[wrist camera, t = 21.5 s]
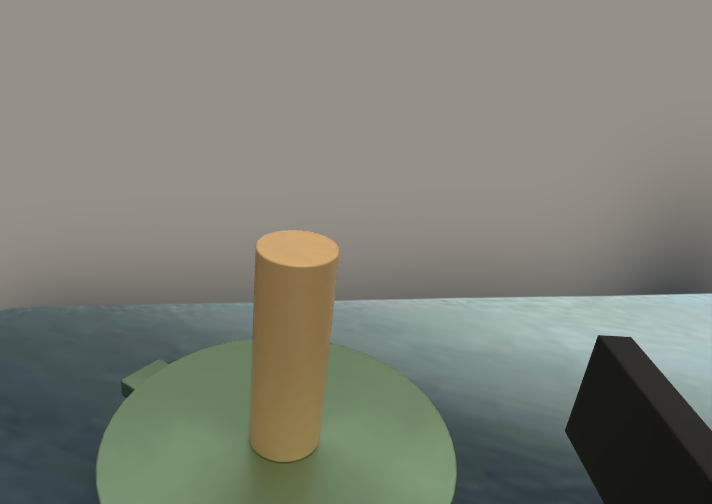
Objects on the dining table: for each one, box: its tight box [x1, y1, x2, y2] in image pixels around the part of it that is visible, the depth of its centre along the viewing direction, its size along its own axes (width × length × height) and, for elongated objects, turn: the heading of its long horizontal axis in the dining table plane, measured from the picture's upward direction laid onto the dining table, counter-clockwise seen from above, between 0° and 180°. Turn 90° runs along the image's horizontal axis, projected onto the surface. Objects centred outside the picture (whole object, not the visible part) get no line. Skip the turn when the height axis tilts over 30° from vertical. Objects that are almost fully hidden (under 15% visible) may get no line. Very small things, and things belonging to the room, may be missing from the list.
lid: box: [95, 230, 457, 504], centre depth 23 cm, size 15×15×10 cm
